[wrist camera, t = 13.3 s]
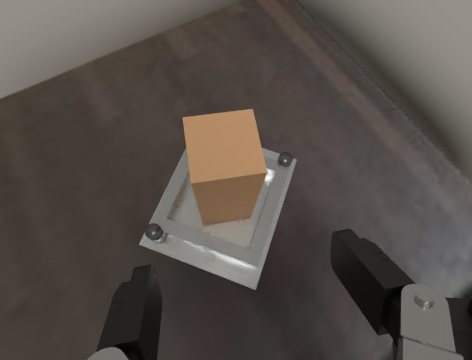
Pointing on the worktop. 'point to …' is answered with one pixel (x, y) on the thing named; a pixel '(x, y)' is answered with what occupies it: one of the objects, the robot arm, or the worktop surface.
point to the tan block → (225, 164)
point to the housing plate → (220, 225)
